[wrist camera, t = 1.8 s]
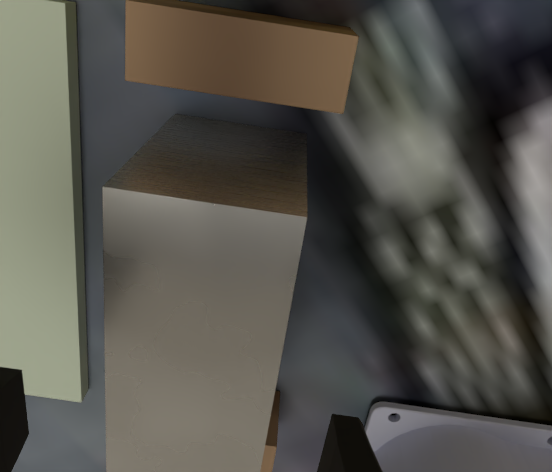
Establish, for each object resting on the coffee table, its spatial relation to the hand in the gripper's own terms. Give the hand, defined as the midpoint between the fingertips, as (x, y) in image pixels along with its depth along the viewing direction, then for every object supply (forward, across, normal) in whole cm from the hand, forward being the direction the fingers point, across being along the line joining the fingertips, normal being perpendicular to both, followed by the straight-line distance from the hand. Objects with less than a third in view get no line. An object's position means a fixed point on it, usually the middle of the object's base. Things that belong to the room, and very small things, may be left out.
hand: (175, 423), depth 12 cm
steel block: (+9, 0, 0) cm, 9 cm away
